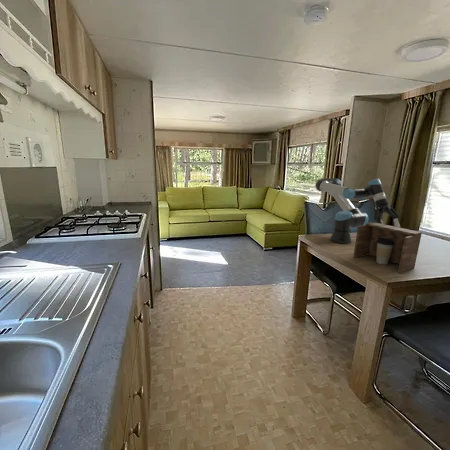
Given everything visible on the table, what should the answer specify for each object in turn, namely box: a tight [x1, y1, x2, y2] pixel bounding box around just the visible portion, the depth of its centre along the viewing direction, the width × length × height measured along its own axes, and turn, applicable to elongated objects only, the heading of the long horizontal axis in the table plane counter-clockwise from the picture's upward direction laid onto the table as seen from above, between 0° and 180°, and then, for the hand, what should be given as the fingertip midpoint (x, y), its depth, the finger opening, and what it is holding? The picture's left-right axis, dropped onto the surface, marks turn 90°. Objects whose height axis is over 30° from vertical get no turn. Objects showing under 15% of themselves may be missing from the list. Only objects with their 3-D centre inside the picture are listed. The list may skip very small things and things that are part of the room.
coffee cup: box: [375, 238, 394, 265], centre depth 156 cm, size 9×9×15 cm
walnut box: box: [352, 221, 423, 274], centre depth 155 cm, size 28×16×22 cm, turn 30°
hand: (390, 228), depth 174 cm, fingers open, 13 cm apart
